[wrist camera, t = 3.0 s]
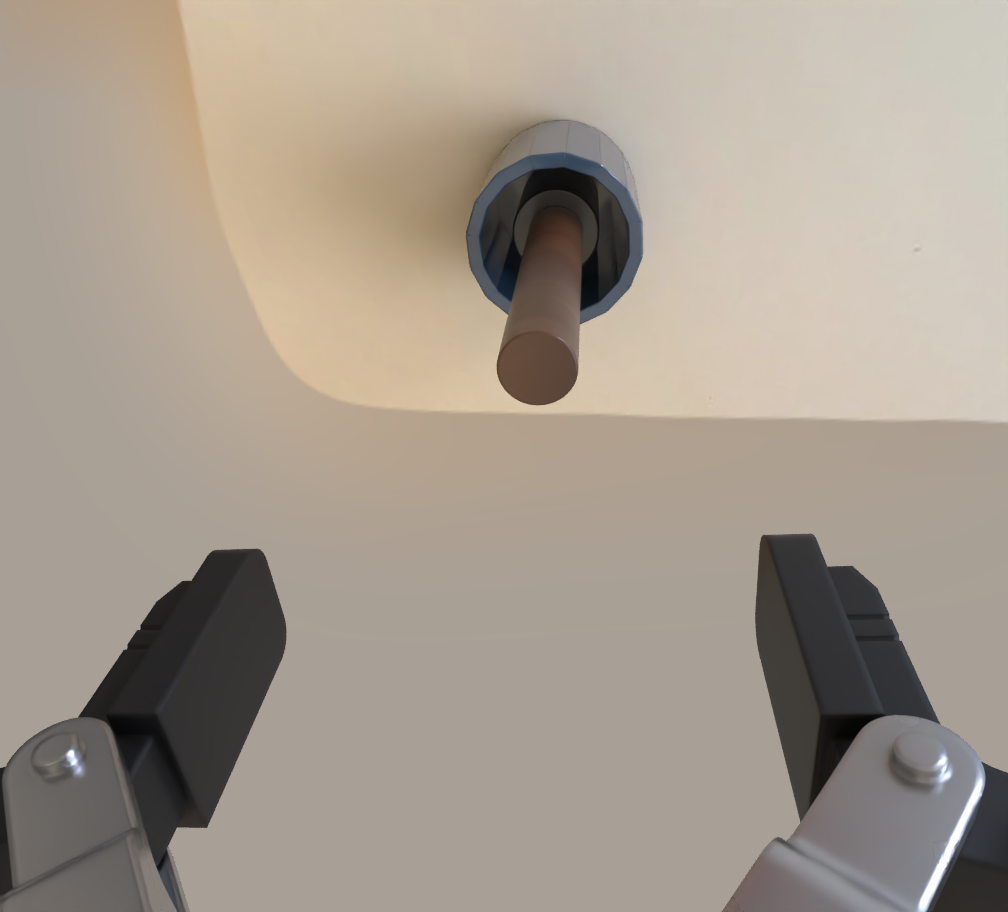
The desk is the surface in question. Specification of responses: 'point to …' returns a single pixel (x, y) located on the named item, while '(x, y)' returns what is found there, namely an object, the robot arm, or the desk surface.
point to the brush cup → (501, 197)
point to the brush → (548, 285)
